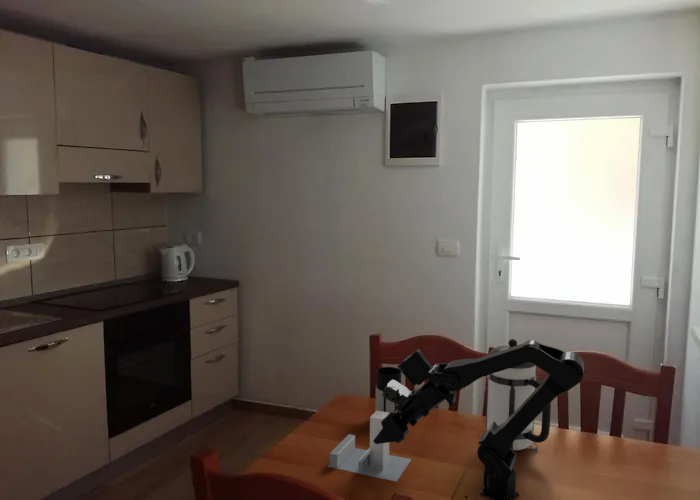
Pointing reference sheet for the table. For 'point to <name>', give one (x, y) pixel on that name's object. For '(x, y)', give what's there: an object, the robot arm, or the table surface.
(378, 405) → the glass holder
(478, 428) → the table surface
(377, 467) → the aluminium bar
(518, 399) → the coffee press
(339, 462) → the vise
